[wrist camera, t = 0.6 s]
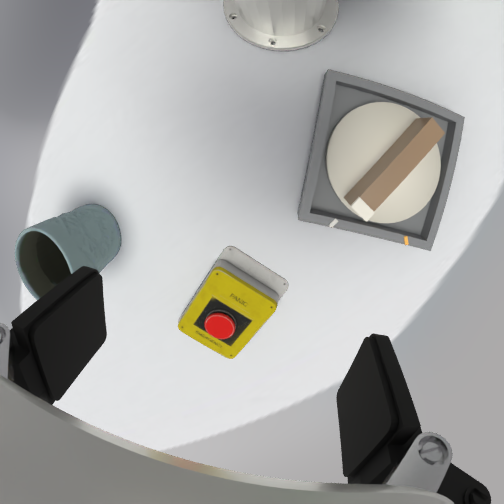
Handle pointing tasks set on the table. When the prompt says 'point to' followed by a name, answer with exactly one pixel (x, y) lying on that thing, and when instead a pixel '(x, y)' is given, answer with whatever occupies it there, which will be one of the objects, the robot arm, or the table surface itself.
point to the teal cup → (66, 247)
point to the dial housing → (318, 184)
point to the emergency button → (232, 303)
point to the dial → (384, 161)
